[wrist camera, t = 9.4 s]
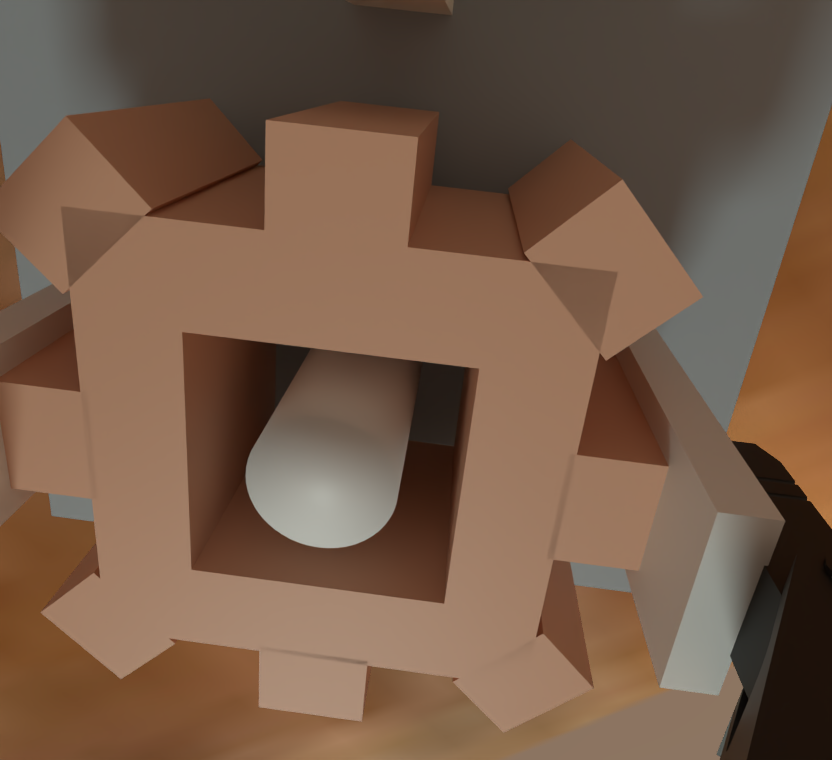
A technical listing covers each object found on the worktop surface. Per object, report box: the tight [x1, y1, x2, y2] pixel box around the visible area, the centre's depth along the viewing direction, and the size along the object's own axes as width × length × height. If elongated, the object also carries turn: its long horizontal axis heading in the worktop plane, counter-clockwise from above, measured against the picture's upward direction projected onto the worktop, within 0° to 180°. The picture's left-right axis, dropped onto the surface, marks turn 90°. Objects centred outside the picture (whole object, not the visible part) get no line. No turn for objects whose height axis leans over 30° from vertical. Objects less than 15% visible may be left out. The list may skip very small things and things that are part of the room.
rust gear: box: [0, 98, 703, 732], centre depth 12 cm, size 10×10×5 cm
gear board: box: [0, 0, 832, 592], centre depth 11 cm, size 24×16×8 cm, turn 174°
